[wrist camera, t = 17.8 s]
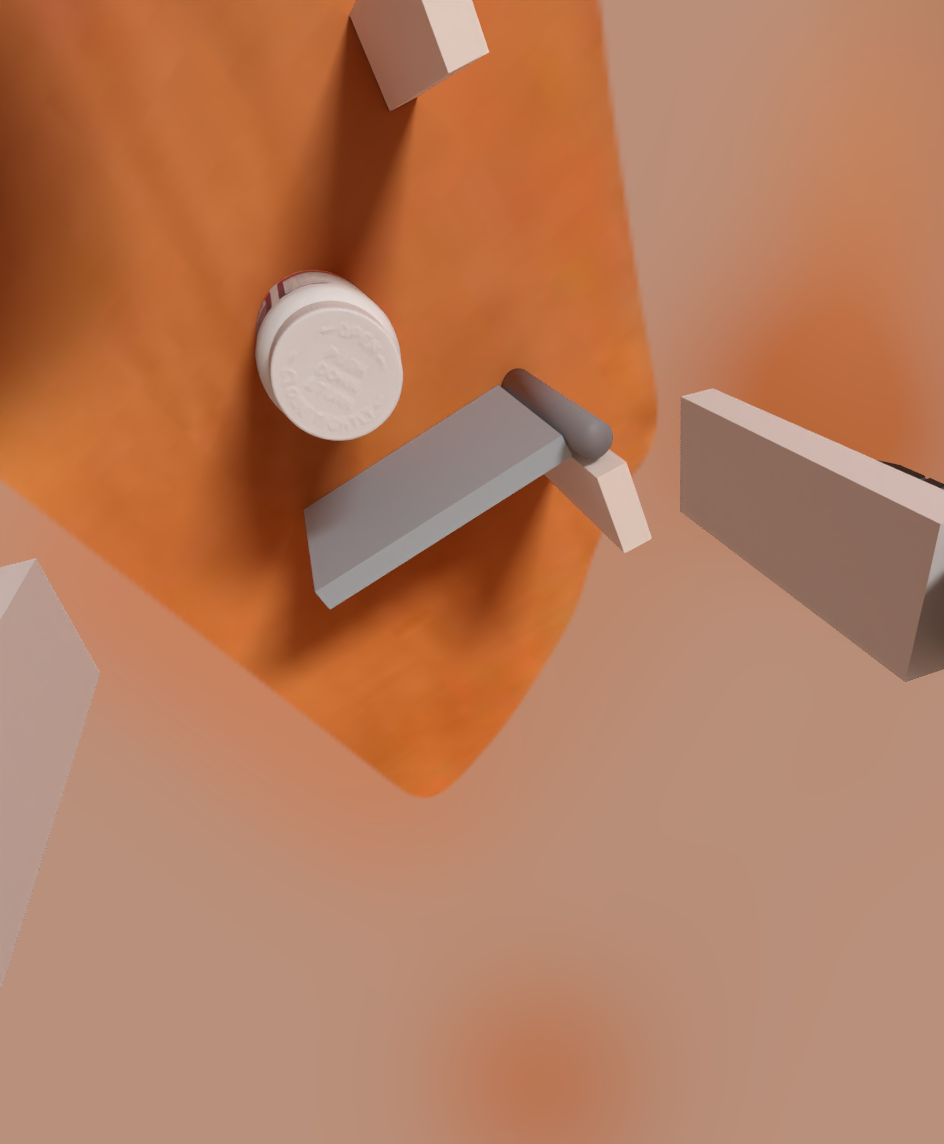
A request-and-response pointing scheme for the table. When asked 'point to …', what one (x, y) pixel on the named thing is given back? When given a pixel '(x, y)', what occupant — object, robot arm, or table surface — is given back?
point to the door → (444, 481)
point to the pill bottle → (327, 355)
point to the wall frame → (405, 71)
